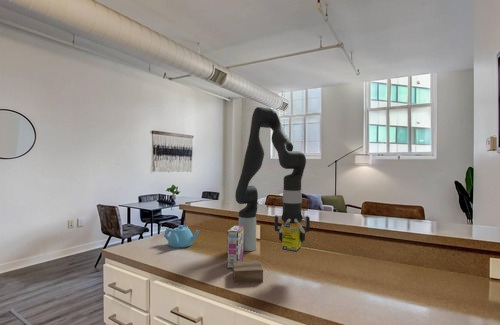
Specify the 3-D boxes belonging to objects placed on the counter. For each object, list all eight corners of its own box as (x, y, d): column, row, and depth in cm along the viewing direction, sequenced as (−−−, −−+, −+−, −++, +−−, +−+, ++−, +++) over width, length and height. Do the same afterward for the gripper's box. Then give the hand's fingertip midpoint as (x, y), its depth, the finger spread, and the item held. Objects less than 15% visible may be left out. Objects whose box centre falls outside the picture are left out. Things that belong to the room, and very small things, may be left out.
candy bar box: (238, 269, 125) (238, 231, 125) (226, 268, 126) (226, 230, 126) (243, 260, 136) (243, 225, 136) (233, 259, 137) (233, 225, 137)
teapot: (188, 239, 173) (188, 221, 173) (200, 245, 161) (200, 225, 161) (162, 244, 163) (162, 224, 163) (173, 250, 151) (173, 230, 151)
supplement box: (282, 250, 116) (282, 222, 116) (287, 246, 121) (287, 219, 121) (296, 252, 113) (296, 224, 113) (301, 248, 119) (301, 221, 118)
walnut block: (232, 273, 122) (232, 261, 122) (258, 272, 123) (258, 260, 123) (234, 284, 111) (234, 271, 111) (263, 283, 112) (263, 270, 112)
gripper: (308, 199, 120) (308, 239, 121) (273, 199, 121) (273, 238, 121) (311, 202, 113) (311, 244, 113) (274, 202, 113) (274, 244, 114)
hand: (291, 241), depth 117 cm, fingers closed on supplement box, 7 cm apart
